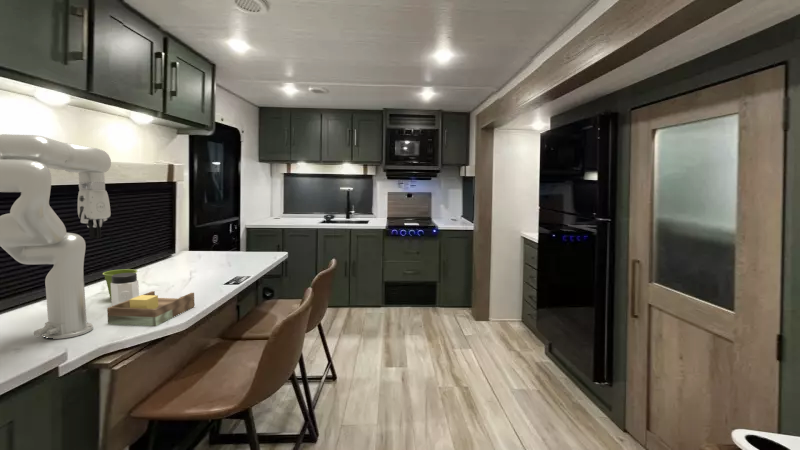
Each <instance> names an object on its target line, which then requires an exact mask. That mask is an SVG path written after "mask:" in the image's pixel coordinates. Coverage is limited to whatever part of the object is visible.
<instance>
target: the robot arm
mask: <svg viewBox="0 0 800 450" xmlns="http://www.w3.org/2000/svg"><path fill="white" fill-rule="evenodd" d="M111 167H112V160H111V157H110V155H109V153H108V152H106V151H105V150H104V149H100V148H97V147H91V146H86V145H85V146H84V145H80V144H74V143H68V142H62V141H60V140H59V141H58V140H55V139H53V138H50V137H45V136H42V135H34V134H9V133H8V134H7V133H6V134H0V193H20V196H19V197H18V198H16V200H15V201H14V202H13V204H12V205H11V207H10V210H9V213H5V214H1V215H0V247H1V249H3V250H4V251H5V252H6V253H7V254H8V255H10V257H11V258H13V259H14V260H15V261H16V262H18V263H19V264H22V265H53V266H52V268H51V269H50V270H49V272H48V273H47V275H46V276H45V279H44V283H45V285H44V286H45V297H46V308H47V309H46V310H47V322H45V323H44V325H45V326H43V327H42V328H39V329H36V330H34V332H33V334H34V336H35V337H36V338H38V337H41V336H42V335H43V336H45V337H48V338H53V339H52V340H62V339H67V338H68V339H69V338H74V337H78V336H81V335H84V334H87V333H90V332H91V331H92V330H93V329H94V325H93V324H92V323H90V322H87V307H86V294H85V293H86V292H85V291H86V290H85V277H84V276H85V275H84V264H85V254H86V248H87V247H86V240H85V239H84V238H83V236H81V235H80V234H78V233H73V232H67V228H66V226H65V224H64V222H63V221H62V219H60V217H59V215H57V213H56V212H55V211H54V209H53V208H52V207H51V206H50V196H51V189H52V174H51V171H50V169H52V170H57V171H59V170H60V171H66V172H68V173H78V190H79V191H78V193H77V194H78V195H77V215H78V218H79V219H80V223H81V224H85V225H86V226H87V228H88V235H89V236H88V237H89V239H101V238H102V231H101V230H102V229H101V227H102V226H103V223H104V222H106V221H108V219H109V218H110V217H111V214H112V213H111V206H110V205H111V204H110V198H109V194H108V192H107V190H106V182H105V181H106V179H105V173H107V172H108V171H109V170H110V169H111ZM43 336H42V337H43Z"/></svg>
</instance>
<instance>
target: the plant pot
mask: <svg viewBox="0 0 800 450" xmlns="http://www.w3.org/2000/svg"><path fill="white" fill-rule="evenodd" d="M120 273H136V274H137V273H138V270H137V269H131V268H127V269H126V268H125V269H114V270H107V271H104V272H102V275H103V276H104V280H105V281H106V282H105V283H106V284H107V285H106V286H107V290H108V295H109V299H110V300H111V283H112V275H115V274H120Z"/></svg>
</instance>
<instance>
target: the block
mask: <svg viewBox="0 0 800 450" xmlns="http://www.w3.org/2000/svg"><path fill="white" fill-rule="evenodd" d="M158 298H159V295H143V294H139V296H137V297H135V298H132V299H129V300H130V308H144V309H155V308H158Z"/></svg>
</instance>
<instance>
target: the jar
mask: <svg viewBox="0 0 800 450" xmlns="http://www.w3.org/2000/svg"><path fill="white" fill-rule="evenodd" d="M139 287H140V286H139V280H138V276H137V272H136V273H120V274H115V275H112V283H111V299H110V301H111V306H114V305H117V304H119V303H122V302H125V301H127V300H129V299H132V298H135V297H137V296H140V291H139V290H140V289H139Z"/></svg>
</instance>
